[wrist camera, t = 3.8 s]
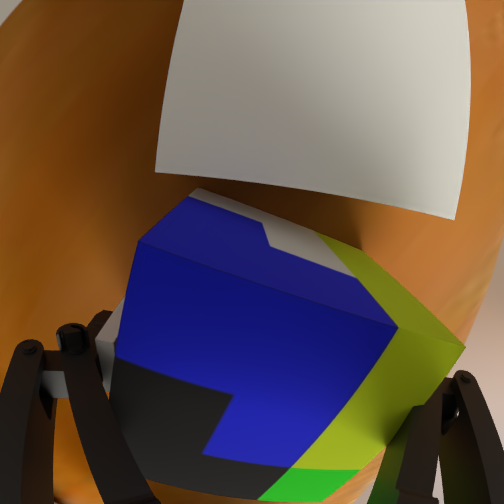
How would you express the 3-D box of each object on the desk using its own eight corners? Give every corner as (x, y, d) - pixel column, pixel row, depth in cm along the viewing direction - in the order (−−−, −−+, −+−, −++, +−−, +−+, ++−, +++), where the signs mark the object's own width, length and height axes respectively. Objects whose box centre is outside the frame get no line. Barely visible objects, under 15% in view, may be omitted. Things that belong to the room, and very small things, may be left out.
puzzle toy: (197, 187, 16) (138, 240, 6) (362, 250, 17) (465, 347, 8) (151, 337, 18) (104, 464, 9) (292, 378, 20) (321, 502, 10)
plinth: (174, 167, 15) (154, 172, 11) (215, -46, 11) (211, -84, 7) (415, 205, 16) (454, 220, 13) (429, 8, 12) (462, -11, 8)
